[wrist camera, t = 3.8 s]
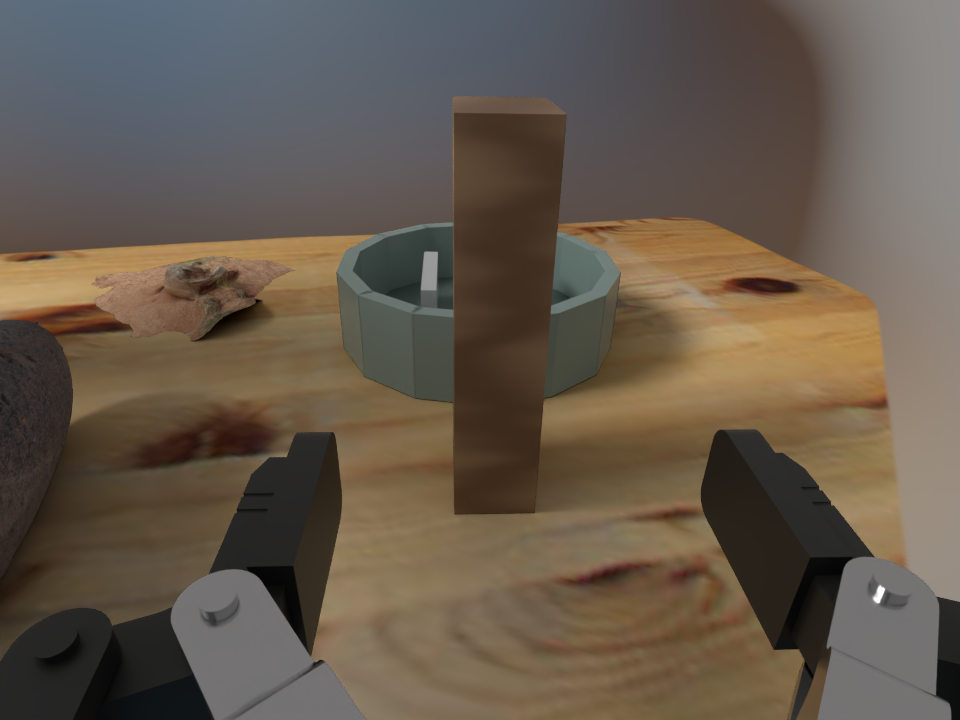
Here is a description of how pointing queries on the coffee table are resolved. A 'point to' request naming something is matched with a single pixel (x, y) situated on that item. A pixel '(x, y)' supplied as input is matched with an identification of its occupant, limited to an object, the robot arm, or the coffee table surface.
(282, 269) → the clay slab
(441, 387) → the slotted round holder
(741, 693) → the coffee table surface
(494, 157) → the tall wooden post
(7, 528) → the perforated stone tool
